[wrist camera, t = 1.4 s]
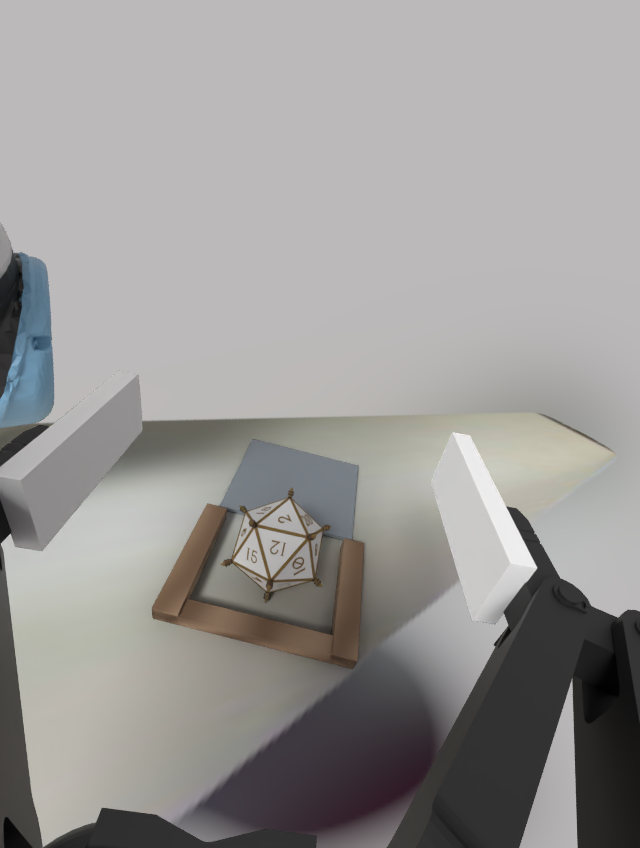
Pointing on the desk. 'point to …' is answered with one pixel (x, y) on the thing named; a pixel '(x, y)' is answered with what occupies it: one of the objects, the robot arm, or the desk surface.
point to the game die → (278, 545)
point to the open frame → (259, 630)
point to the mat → (296, 485)
